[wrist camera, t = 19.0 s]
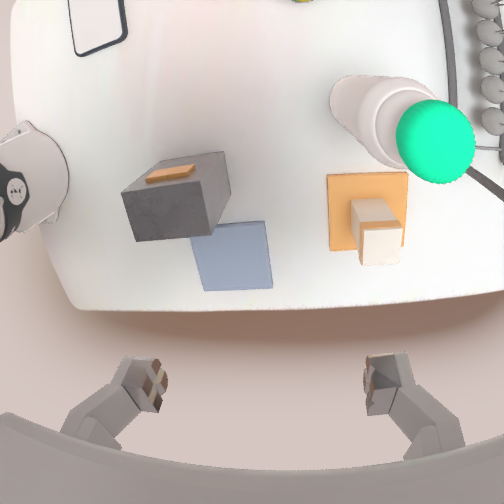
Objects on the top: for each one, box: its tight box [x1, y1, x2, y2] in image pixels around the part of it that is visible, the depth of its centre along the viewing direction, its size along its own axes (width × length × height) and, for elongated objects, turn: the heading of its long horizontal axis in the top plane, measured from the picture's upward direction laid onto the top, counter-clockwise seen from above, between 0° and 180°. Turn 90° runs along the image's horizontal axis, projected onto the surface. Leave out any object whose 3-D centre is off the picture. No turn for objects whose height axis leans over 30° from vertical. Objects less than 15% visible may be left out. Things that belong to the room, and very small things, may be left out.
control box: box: [121, 151, 231, 242], centre depth 38 cm, size 9×7×12 cm
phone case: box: [68, 0, 128, 57], centre depth 30 cm, size 9×2×16 cm
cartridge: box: [351, 198, 403, 266], centre depth 38 cm, size 5×5×9 cm
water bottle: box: [330, 75, 476, 184], centre depth 24 cm, size 7×7×25 cm
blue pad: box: [190, 221, 273, 291], centre depth 48 cm, size 11×11×1 cm
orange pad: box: [327, 172, 408, 251], centre depth 42 cm, size 11×11×1 cm
